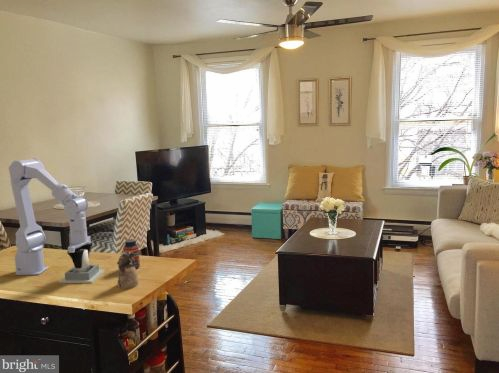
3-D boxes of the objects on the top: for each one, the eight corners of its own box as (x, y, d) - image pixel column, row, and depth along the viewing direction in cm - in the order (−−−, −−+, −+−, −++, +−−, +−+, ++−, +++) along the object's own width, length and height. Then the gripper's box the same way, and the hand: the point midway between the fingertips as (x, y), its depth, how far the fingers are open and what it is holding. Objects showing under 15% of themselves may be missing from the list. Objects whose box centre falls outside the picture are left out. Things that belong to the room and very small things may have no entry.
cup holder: (59, 283, 156) (58, 274, 156) (74, 271, 168) (73, 263, 167) (91, 282, 155) (91, 274, 155) (104, 271, 167) (103, 263, 167)
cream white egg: (72, 274, 159) (70, 253, 158) (78, 269, 164) (76, 249, 163) (86, 273, 159) (84, 253, 157) (91, 269, 164) (89, 248, 162)
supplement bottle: (135, 271, 166) (133, 242, 164) (121, 270, 167) (119, 242, 166) (142, 265, 172) (140, 238, 170) (128, 265, 173) (126, 238, 171)
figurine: (120, 281, 156) (117, 249, 154) (140, 280, 156) (137, 248, 155) (115, 289, 149) (113, 256, 147) (136, 288, 149) (134, 255, 147)
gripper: (80, 235, 151) (83, 272, 154) (96, 224, 166) (99, 258, 168) (60, 235, 152) (64, 272, 154) (78, 225, 166) (82, 258, 168)
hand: (81, 265), depth 161 cm, fingers closed on cream white egg, 5 cm apart
